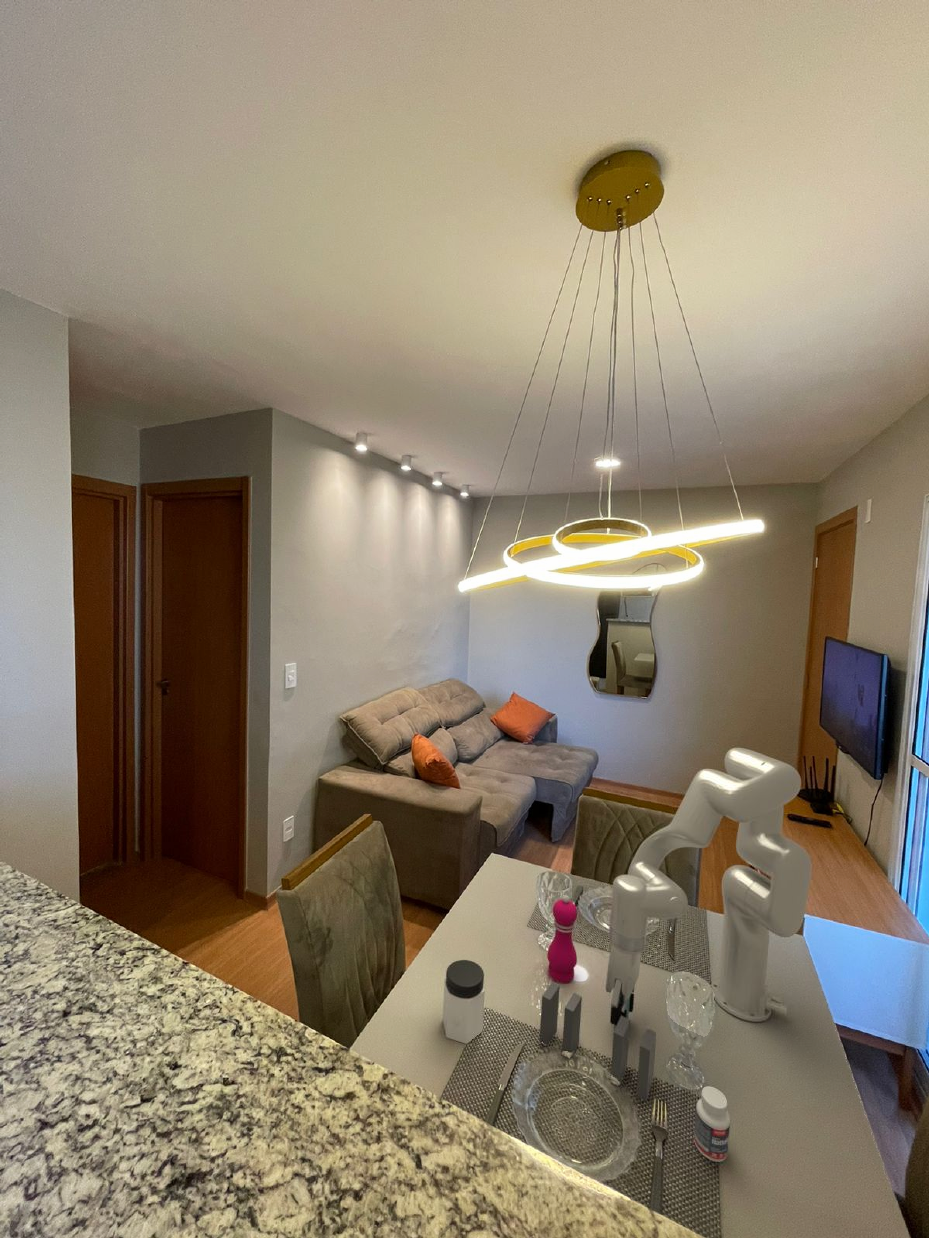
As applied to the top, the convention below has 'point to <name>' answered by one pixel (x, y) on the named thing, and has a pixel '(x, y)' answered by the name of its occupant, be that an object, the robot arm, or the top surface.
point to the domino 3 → (626, 1007)
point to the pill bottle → (712, 1125)
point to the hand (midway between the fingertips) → (621, 1015)
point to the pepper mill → (563, 942)
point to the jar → (463, 1001)
